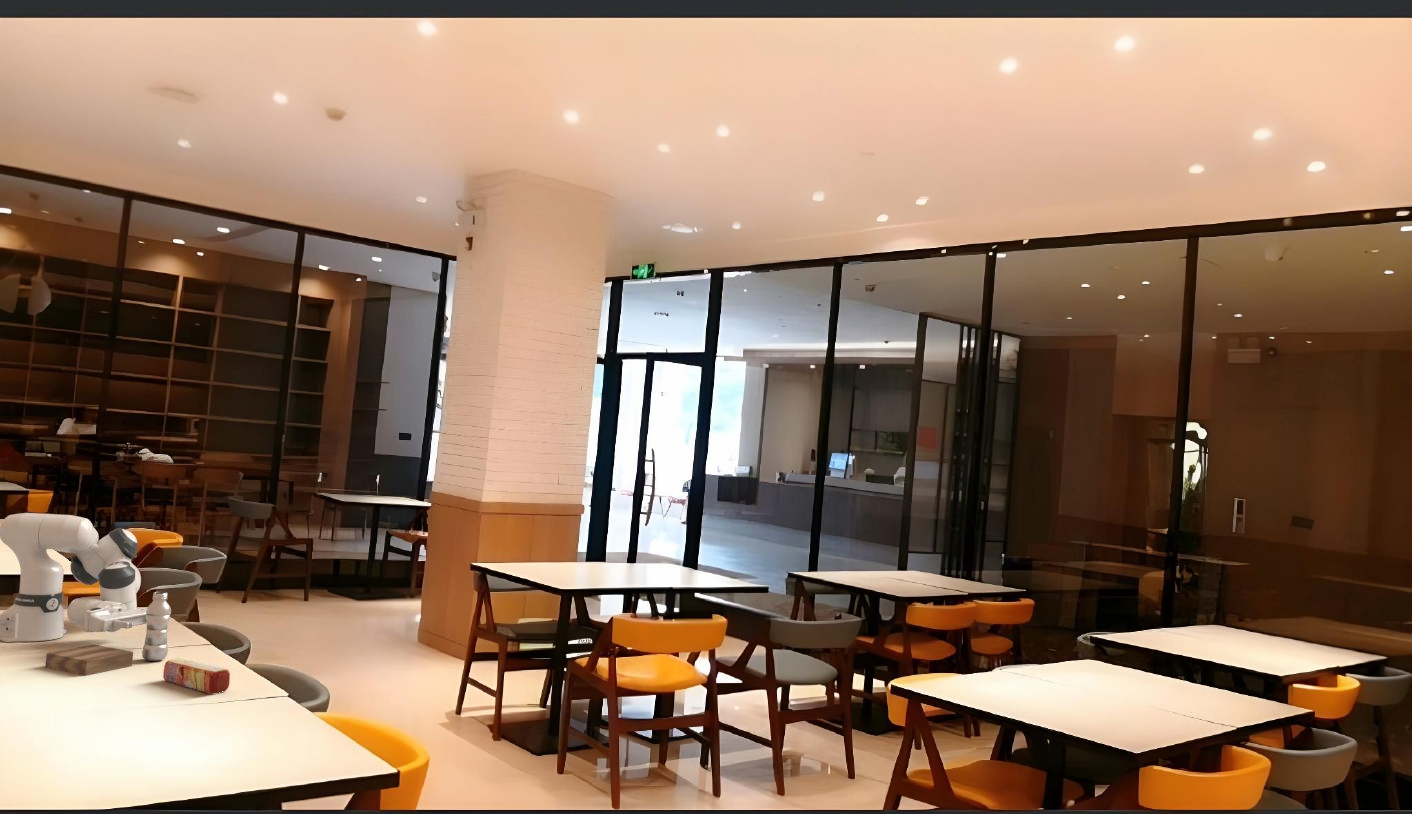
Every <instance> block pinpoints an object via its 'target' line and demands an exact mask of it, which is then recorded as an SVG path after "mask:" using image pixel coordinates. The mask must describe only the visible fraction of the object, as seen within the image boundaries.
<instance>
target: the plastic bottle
mask: <svg viewBox="0 0 1412 814" xmlns="http://www.w3.org/2000/svg"><path fill="white" fill-rule="evenodd" d="M168 595H169V594H168V592H166V591H156V592H155V591H154V592H153V595H152V602H151V603H149V605H148V606H147V607H146V608H147V610H146V620H147V624H146V629H145V630H146V634H145V639H144V640H145V641H144V645H143V647H142V651H141V653H142V658H143V660H145V661H152V662H157V661H161V660H165V659H166V657H167V655H168V652H169V648H168V628H169V627H168V626H169V622H170V621H169V620H170V618H171V614H172V609H171V606H170V604H169V603H168V601H167V600H168Z"/></svg>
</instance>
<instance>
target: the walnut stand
mask: <svg viewBox="0 0 1412 814" xmlns="http://www.w3.org/2000/svg"><path fill="white" fill-rule="evenodd" d="M133 658H134V651H131V650H130V651H129V650H125V649H119V648H115V647H108V646H103V645H98V644H88V645H85V646H78V647H72V648H67V649H61V650H55V651H51V652H50V651H49V652H46V656H45V668H47V669H51V670H57V671H61V672H62V671H63V672H66V673H71V674H76V675H81V676H91V675H96V674H99V673H100V674H101V673H105V672H110V671H114V670H119V669H124V668H129V667H132V666H133Z"/></svg>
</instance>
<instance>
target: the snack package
mask: <svg viewBox="0 0 1412 814" xmlns="http://www.w3.org/2000/svg"><path fill="white" fill-rule="evenodd" d="M163 666H164V667H163V672H162V673H163V675H162V676H163V680H164V681H165V682H167V681H168V683H172V682H173V684H175V683H176V684H175V685H179V686H181V685H182V686H181V687H186V688H188V687H189V688H188V689H192V688H193V689H192V690H196V689H197V691H200V692H202V691H204V692H203V693H205V692H206V694H208V693H209V695H213V694H212V693H218V694H220V693H219V692H222V691H224V692H226V691H227V690H228V689H229V687H230V684H231V683H230V681H231V672H230V670H229V669H228V668H225V667H220V666H215V665H211V664H206V663H203V662H197V661H193V660H190V659H184V658H181V657H177V658H173V659H170V660H167V661H166V662H165V664H164V665H163ZM222 693H223V692H222Z"/></svg>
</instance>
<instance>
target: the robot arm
mask: <svg viewBox="0 0 1412 814" xmlns="http://www.w3.org/2000/svg"><path fill="white" fill-rule="evenodd" d="M0 541H2V543H3V544H4V545H6V546H7V547H8V548H9V549H10V550H12V552H13V554H14V555H15V557H16V558H17V560H18V561H17V562H18V563H19V569H20V581H19V591H18V592H17V593H13V596H12V597H13V598H15V599H14V602H13V604H12V605H11V606H10V607H8V608H7V609H6V610H4V611H3V612H1V613H0V641H2V642H4V643H11V642H12V643H13V642H14V643H15V642H42V641H50V640H51V641H52V640H55V639H59V638H60V639H61V638H63V637H64V635H65V634H67V629H65V626H64V625H65V616H64V615H65V613H64V612H65V611H64V607H63V606H62V603H63V602H64V601H63V600H64V591H63V581H64V573H65V571H64V567H63V565H62V564H61V563H60V562H58V561H56V560H54V559H53V558H51V557H50V555H49V554H48V552H47V550H54V551H56V552H60V553H61V552H62V553H67V554H68V553H69V554H73V555H71V557H70V559H71V563H70V572H71V574H72V576H73V577H74V578H75V580H76V581H78V582H79V583H82V584H84V585H85V586H92V585H96V584H97V583H98V585H99V595H100V599H99V598H94V597H93V598H92V597H79V598H78V597H77V598H75V599H73V600H72V601H71V602H70V603H69V604H68V607H67V610H66V616H67V619H68V621H70V623H72V624H74V625H76V626H79V627H82V628H83V632H85V633H104V632H105V633H106V632H109V633H115V632H117V631H119V630H121V629H132V627H137V626H140V625H141V626H143V625H147V620H146V610H147V608H148V607H140V608H138V607H137V606H138V605H137V603H138V602H137V593H138V592H139V590H140V587H141V585H142V584H141V583H142V576H141V572H140V570H139V569H138V568H137V566H136V565H134V564H133V562H132V560H133V558H134V559H136V558H137V557H138V554H137V552H138V549H139V541H138V539H137V537H136V536H135V535H134V534H133V533H132V532H131V531H129V530H128V529H125V528H121V527H117V528H115V529H113V530H111V531H109V532H108V534H107V535H105V536H103V537H102V538H101V539H99V533H98V531H97V530H96V528H95V527H94V525H93V523H92V522H91V520H90V519H88V518H85V517H82V516H77V515H71V514H57V513H56V514H54V513H35V512H32V513H31V512H24V513H23V512H22V513H15V514H9V515H7V516H6V517H4V519H3V520H2V521H1V523H0ZM74 554H75V555H74Z"/></svg>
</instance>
